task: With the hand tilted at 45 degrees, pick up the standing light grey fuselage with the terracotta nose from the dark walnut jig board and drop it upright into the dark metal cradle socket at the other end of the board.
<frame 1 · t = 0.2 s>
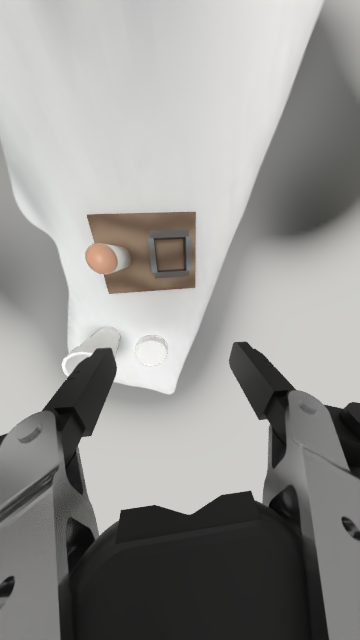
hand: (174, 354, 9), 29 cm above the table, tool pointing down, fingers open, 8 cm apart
jig board: (149, 256, 32), on the table
foam cup: (109, 335, 41), on the table
coaster: (152, 347, 44), on the table
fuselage: (122, 257, 31), point 1 cm above the table, touching jig board
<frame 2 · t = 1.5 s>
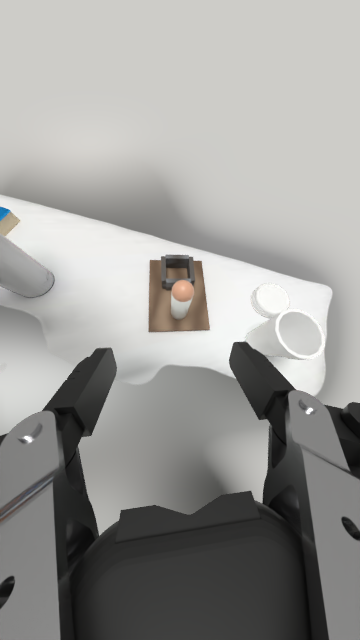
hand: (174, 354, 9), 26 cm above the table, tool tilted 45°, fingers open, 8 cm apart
jig board: (177, 294, 40), on the table
foam cup: (255, 342, 37), on the table
coaster: (265, 302, 42), on the table
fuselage: (178, 311, 37), point 1 cm above the table, touching jig board
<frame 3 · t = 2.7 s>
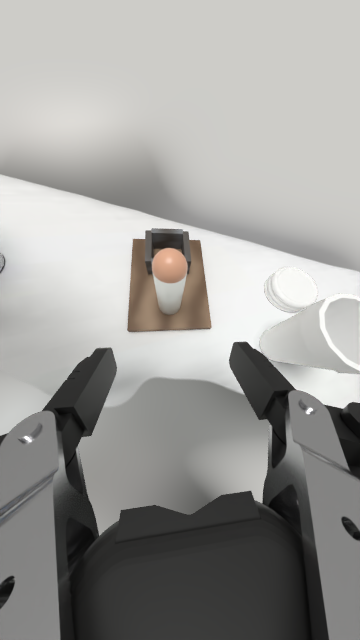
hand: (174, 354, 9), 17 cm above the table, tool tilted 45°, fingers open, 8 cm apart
jig board: (168, 282, 30), on the table
foam cup: (273, 345, 28), on the table
coaster: (282, 293, 32), on the table
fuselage: (169, 304, 27), point 1 cm above the table, touching jig board
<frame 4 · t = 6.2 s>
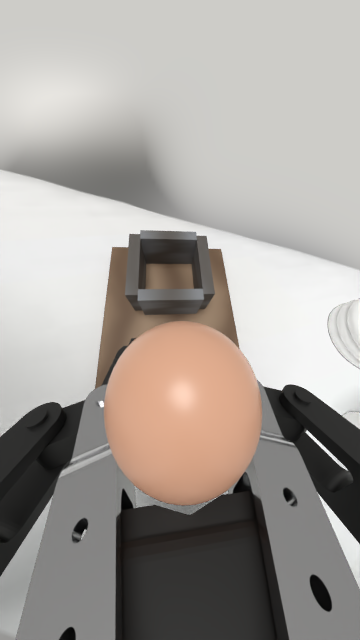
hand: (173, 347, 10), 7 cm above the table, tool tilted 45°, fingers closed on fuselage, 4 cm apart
jig board: (171, 321, 18), on the table
coaster: (357, 336, 20), on the table
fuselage: (173, 370, 15), point 1 cm above the table, touching gripper, jig board
when the fingers open (9 cm above the table, at t = 12.1 s): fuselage drops 1 cm, resting on jig board.
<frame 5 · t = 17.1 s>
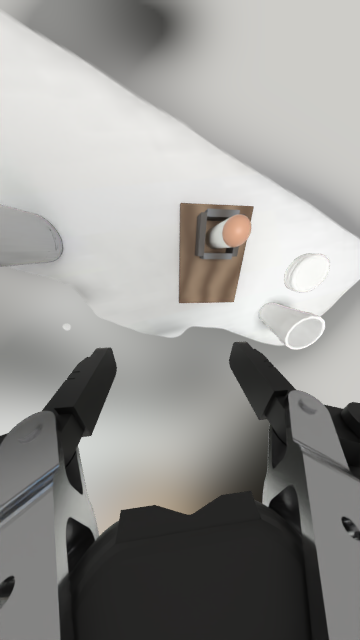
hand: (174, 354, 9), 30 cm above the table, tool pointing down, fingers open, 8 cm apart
jig board: (210, 260, 35), on the table
foam cup: (267, 311, 44), on the table
coaster: (299, 272, 39), on the table
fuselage: (214, 238, 31), point 1 cm above the table, touching jig board
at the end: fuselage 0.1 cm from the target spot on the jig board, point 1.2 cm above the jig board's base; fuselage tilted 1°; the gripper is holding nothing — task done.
